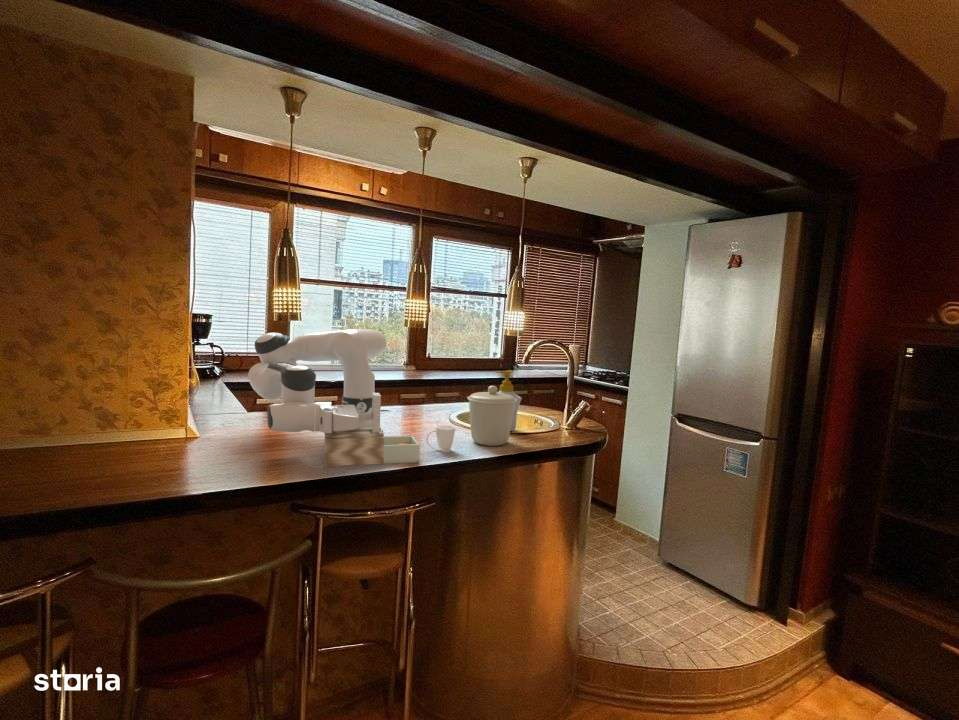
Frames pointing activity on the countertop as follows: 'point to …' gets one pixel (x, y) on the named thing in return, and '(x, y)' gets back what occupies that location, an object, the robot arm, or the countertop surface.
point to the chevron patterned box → (353, 447)
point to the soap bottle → (508, 389)
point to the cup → (443, 437)
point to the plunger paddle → (376, 412)
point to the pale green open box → (400, 449)
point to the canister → (491, 416)
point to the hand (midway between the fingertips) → (372, 415)
